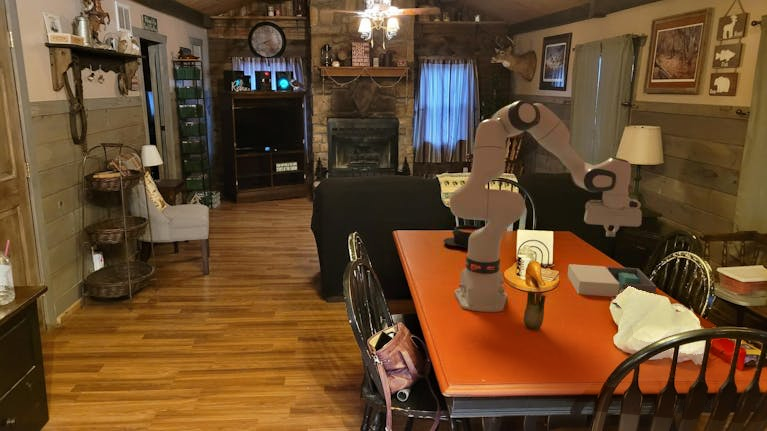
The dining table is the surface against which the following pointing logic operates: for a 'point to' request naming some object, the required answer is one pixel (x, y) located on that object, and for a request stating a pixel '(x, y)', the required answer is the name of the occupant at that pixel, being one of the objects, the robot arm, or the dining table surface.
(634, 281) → the tile
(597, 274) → the plate
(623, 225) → the robot arm
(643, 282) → the bin
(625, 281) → the tile
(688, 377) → the dining table surface
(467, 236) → the black brimmed hat
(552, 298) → the dining table surface
